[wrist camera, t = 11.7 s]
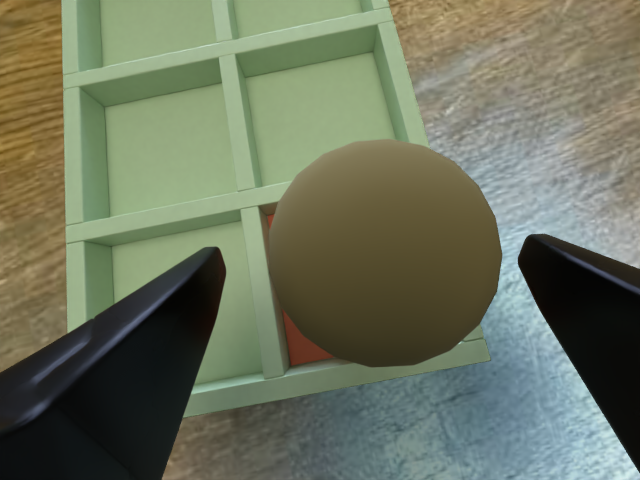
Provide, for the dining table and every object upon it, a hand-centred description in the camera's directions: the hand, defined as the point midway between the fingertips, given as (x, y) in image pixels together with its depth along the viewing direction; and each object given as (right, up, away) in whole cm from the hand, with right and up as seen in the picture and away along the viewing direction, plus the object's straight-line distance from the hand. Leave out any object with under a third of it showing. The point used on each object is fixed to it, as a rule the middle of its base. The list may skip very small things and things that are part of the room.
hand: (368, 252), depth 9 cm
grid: (-7, +11, +11) cm, 17 cm away
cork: (0, -2, +8) cm, 8 cm away
